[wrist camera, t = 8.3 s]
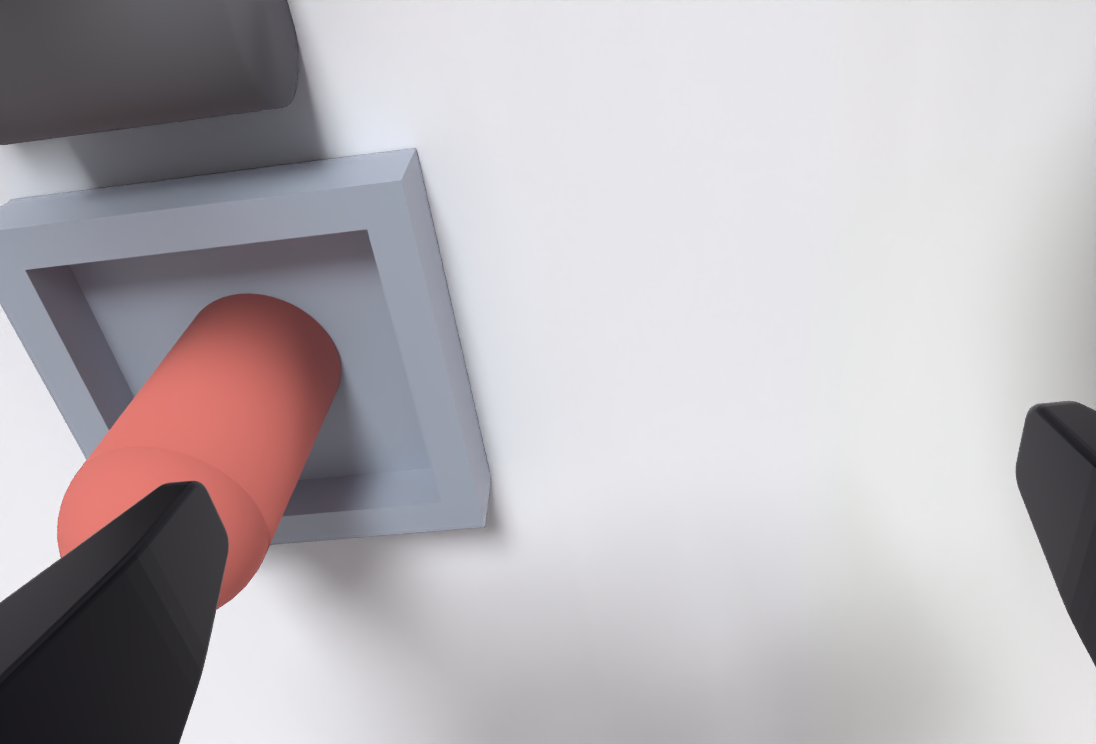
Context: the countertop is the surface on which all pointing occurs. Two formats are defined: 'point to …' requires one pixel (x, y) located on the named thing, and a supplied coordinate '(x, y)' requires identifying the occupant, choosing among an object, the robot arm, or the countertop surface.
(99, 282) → the tray
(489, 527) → the countertop surface
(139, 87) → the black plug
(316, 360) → the red rounded cylinder
